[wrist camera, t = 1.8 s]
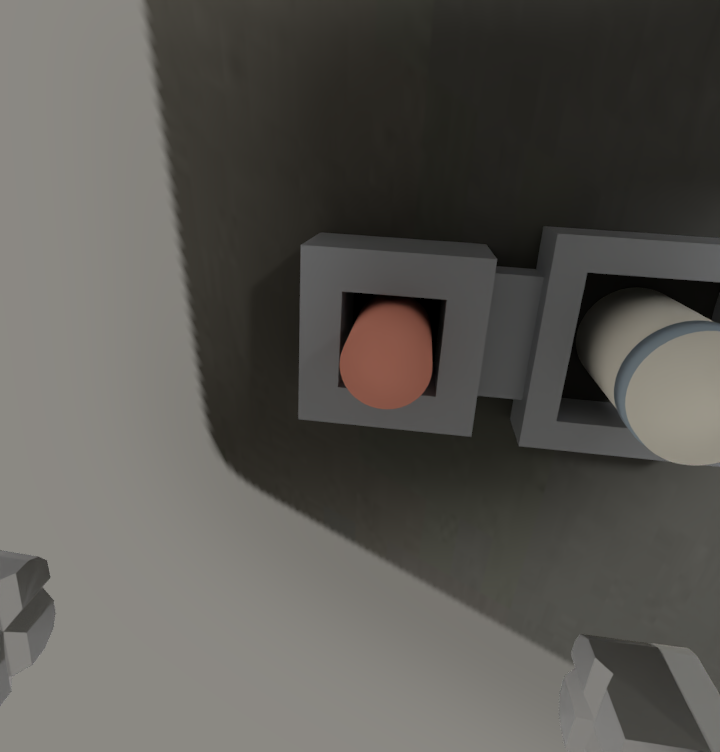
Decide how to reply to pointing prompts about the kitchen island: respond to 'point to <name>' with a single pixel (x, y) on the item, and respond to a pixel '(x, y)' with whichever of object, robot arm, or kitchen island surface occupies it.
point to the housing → (483, 328)
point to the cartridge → (657, 371)
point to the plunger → (388, 353)
